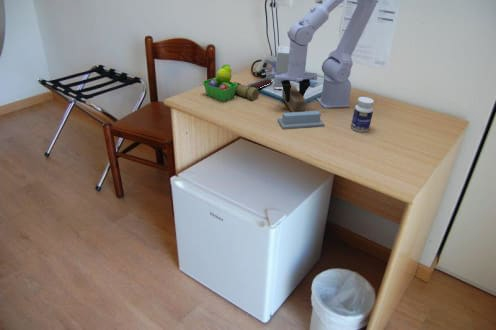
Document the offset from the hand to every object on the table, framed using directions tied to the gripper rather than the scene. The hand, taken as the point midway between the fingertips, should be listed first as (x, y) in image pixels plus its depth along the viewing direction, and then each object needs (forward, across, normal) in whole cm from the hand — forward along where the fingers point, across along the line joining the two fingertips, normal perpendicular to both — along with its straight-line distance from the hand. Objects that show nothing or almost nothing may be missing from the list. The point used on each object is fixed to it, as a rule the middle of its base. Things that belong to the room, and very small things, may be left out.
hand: (293, 100), depth 140 cm
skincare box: (+3, +2, +20) cm, 20 cm away
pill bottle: (+3, +17, -18) cm, 25 cm away
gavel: (+3, -9, +18) cm, 20 cm away
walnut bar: (+2, 0, 0) cm, 2 cm away
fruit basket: (+3, -23, +14) cm, 27 cm away
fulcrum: (+3, -1, -12) cm, 12 cm away
